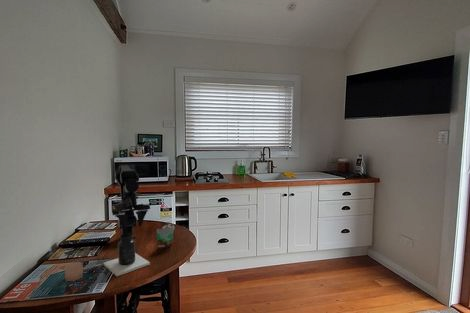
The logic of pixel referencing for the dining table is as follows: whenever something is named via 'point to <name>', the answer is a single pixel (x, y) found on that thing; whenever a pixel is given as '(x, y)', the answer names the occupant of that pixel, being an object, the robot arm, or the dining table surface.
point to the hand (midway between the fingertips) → (132, 227)
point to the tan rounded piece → (73, 271)
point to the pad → (122, 269)
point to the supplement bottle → (126, 249)
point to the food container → (165, 235)
